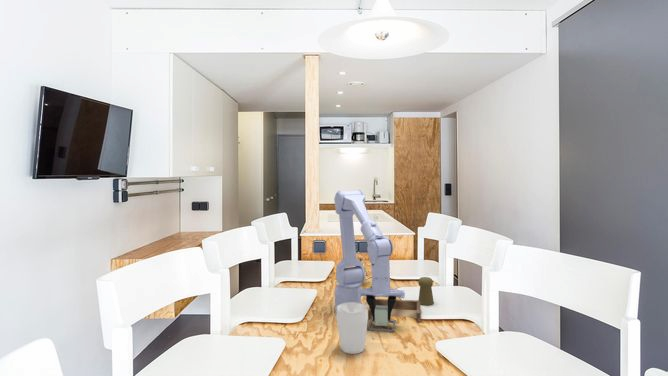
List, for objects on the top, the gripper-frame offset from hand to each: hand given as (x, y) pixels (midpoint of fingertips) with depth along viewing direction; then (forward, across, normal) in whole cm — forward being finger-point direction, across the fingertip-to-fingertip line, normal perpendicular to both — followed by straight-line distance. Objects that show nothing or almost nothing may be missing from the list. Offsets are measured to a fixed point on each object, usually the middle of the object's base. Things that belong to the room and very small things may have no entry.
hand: (381, 319), depth 118 cm
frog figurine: (+4, -13, +44) cm, 45 cm away
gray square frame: (+4, 0, 0) cm, 4 cm away
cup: (+4, -7, -14) cm, 16 cm away
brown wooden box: (+4, +4, +11) cm, 12 cm away
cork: (+4, +14, +24) cm, 28 cm away
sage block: (+1, 0, 0) cm, 1 cm away
